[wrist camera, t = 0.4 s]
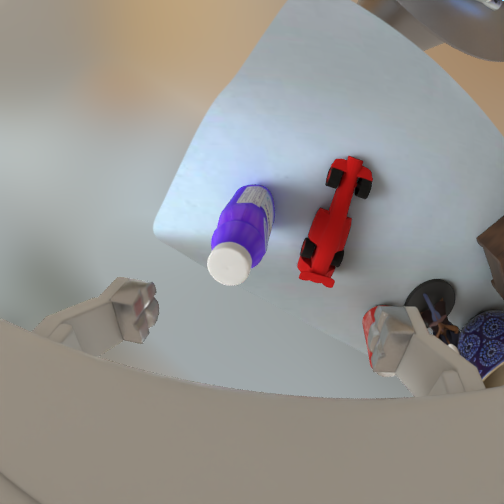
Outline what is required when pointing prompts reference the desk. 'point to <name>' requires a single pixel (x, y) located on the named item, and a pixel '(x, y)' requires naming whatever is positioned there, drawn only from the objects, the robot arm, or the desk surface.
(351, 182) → the toy car
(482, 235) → the shelf
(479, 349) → the planter
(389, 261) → the desk surface
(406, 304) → the figurine
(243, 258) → the bottle
